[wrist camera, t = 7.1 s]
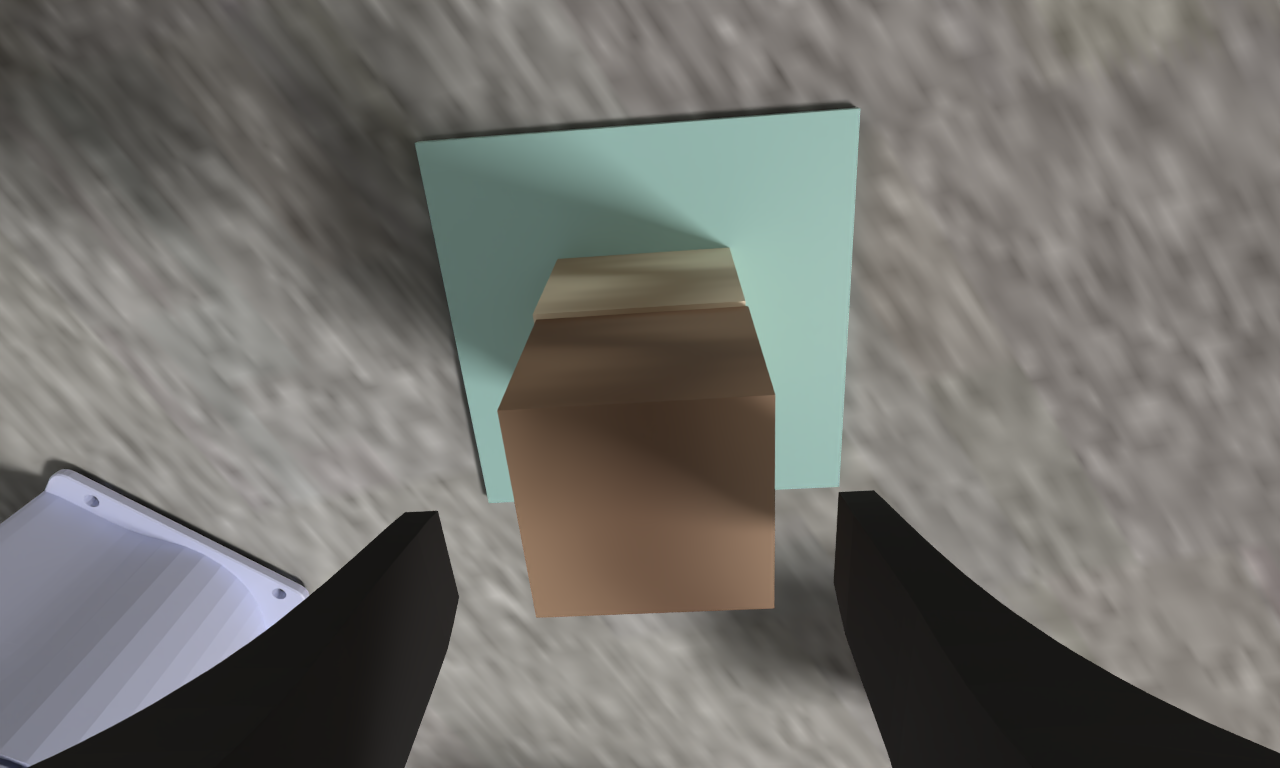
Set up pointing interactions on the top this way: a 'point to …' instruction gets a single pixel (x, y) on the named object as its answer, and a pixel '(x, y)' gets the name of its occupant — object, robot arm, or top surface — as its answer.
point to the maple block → (641, 284)
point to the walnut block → (644, 463)
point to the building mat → (658, 248)
